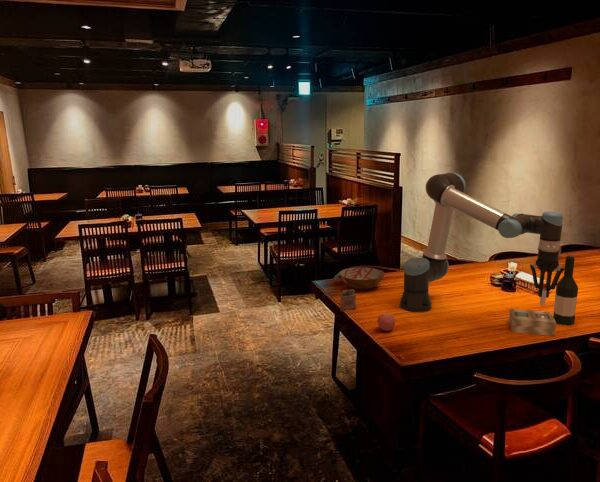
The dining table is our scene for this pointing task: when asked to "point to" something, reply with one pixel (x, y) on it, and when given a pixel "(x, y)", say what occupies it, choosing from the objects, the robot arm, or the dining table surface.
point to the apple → (386, 321)
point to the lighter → (347, 300)
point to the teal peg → (521, 314)
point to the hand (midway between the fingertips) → (542, 304)
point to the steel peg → (542, 316)
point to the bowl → (361, 277)
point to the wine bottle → (566, 295)
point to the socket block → (532, 323)
